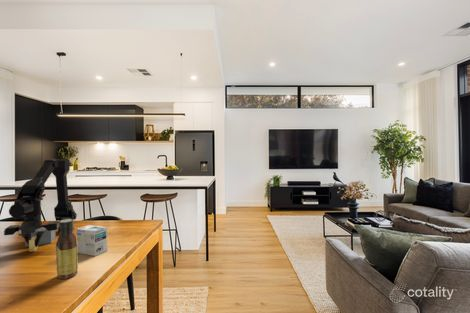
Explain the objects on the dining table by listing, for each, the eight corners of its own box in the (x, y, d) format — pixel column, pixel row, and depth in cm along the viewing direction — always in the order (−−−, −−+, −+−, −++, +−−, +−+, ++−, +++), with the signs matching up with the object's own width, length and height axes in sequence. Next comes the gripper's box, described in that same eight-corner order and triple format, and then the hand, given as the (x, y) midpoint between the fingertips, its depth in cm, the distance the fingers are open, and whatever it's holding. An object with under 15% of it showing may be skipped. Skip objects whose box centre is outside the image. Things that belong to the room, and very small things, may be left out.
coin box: (55, 237, 132) (55, 223, 132) (51, 243, 124) (51, 228, 124) (31, 240, 128) (31, 226, 128) (25, 246, 120) (25, 231, 120)
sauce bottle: (63, 271, 95) (62, 217, 95) (81, 271, 96) (80, 217, 95) (52, 280, 88) (51, 222, 88) (71, 280, 89) (70, 222, 89)
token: (38, 247, 118) (37, 236, 118) (34, 251, 113) (34, 239, 113) (32, 247, 117) (32, 236, 117) (29, 251, 113) (28, 240, 112)
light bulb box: (108, 250, 115) (107, 226, 115) (95, 256, 109) (95, 231, 108) (89, 247, 119) (89, 224, 118) (76, 253, 112) (75, 228, 112)
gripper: (-3, 218, 104) (-2, 257, 104) (53, 214, 111) (54, 250, 112) (8, 212, 114) (9, 247, 114) (59, 208, 121) (60, 241, 122)
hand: (33, 247), depth 115 cm, fingers closed on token, 2 cm apart
